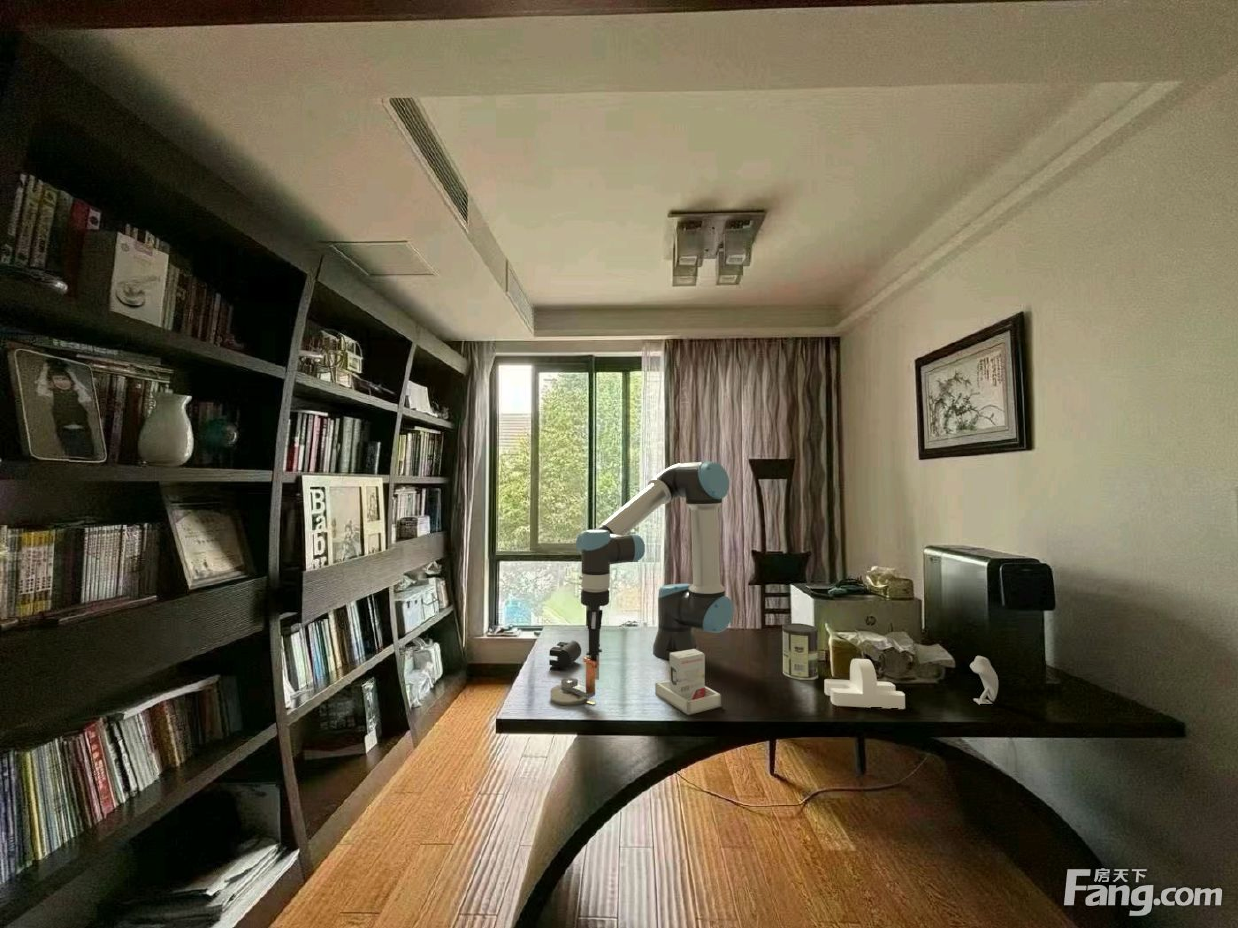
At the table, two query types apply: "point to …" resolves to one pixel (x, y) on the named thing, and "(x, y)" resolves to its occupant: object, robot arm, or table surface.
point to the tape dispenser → (863, 688)
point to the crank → (589, 690)
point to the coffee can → (800, 651)
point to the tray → (688, 707)
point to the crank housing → (567, 697)
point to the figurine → (985, 679)
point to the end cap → (564, 655)
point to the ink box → (687, 674)
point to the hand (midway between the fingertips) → (593, 678)
